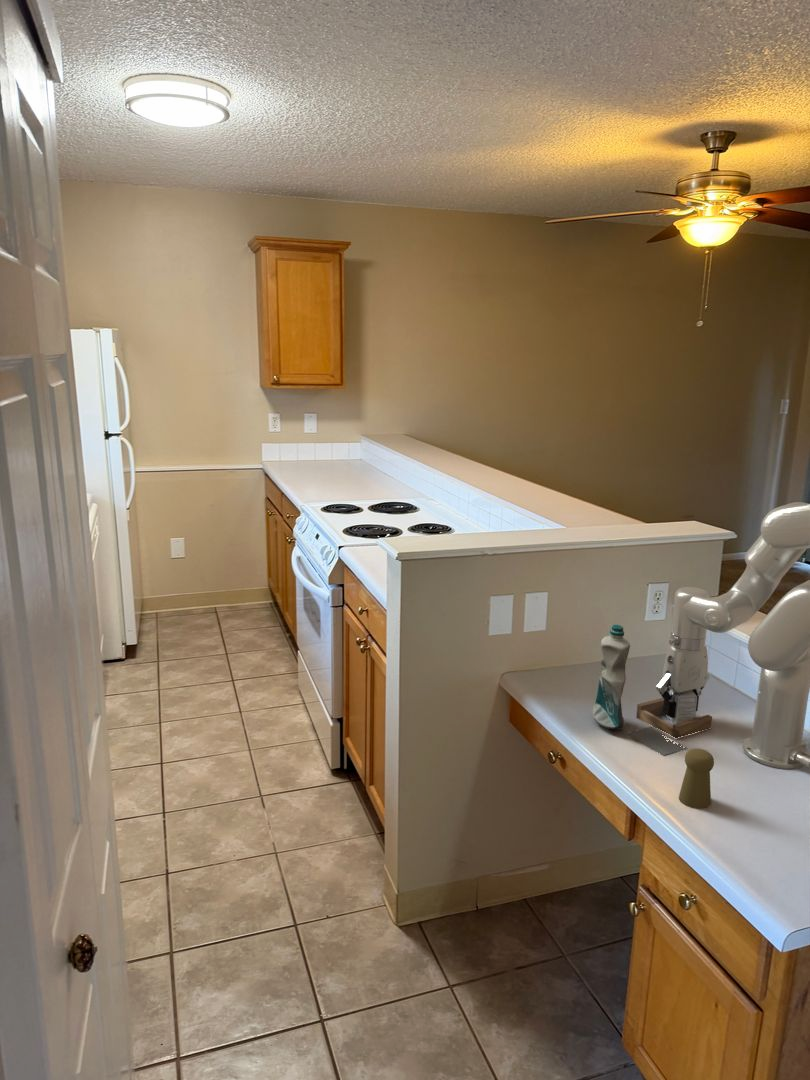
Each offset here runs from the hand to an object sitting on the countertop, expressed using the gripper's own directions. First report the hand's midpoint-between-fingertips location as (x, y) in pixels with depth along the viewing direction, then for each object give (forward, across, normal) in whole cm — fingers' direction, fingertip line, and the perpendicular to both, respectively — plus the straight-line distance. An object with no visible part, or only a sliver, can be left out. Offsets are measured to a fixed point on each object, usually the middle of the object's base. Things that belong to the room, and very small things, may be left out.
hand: (680, 711), depth 178 cm
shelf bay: (+3, 0, 0) cm, 3 cm away
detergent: (+3, -16, +6) cm, 18 cm away
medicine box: (+3, 0, 0) cm, 3 cm away
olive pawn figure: (+3, -23, -26) cm, 35 cm away
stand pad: (+3, -12, -5) cm, 13 cm away
